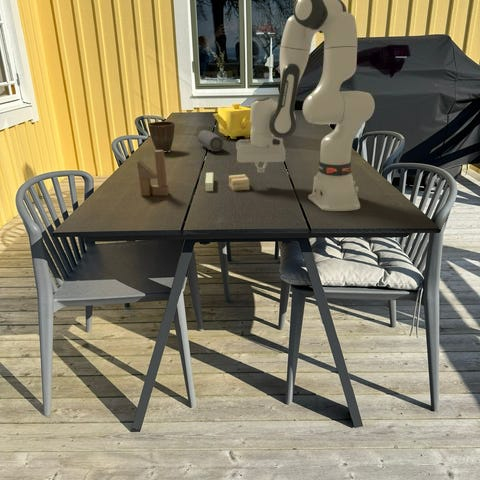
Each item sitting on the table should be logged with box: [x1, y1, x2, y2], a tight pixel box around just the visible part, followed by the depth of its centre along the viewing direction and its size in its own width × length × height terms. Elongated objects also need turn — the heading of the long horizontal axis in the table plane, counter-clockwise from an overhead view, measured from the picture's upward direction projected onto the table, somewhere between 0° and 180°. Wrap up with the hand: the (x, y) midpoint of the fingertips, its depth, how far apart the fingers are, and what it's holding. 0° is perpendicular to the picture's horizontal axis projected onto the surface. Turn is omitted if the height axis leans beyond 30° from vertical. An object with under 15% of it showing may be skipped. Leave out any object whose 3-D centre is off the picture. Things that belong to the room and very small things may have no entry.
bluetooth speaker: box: [197, 129, 224, 152], centre depth 248 cm, size 23×9×10 cm, turn 22°
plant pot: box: [147, 121, 175, 151], centre depth 245 cm, size 15×15×16 cm
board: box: [204, 172, 214, 192], centre depth 184 cm, size 16×3×4 cm, turn 2°
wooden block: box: [137, 149, 170, 197], centre depth 171 cm, size 4×11×18 cm, turn 87°
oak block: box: [228, 173, 250, 192], centre depth 181 cm, size 8×7×4 cm
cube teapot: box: [212, 103, 251, 140], centre depth 278 cm, size 35×30×21 cm
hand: (260, 172), depth 181 cm, fingers closed
